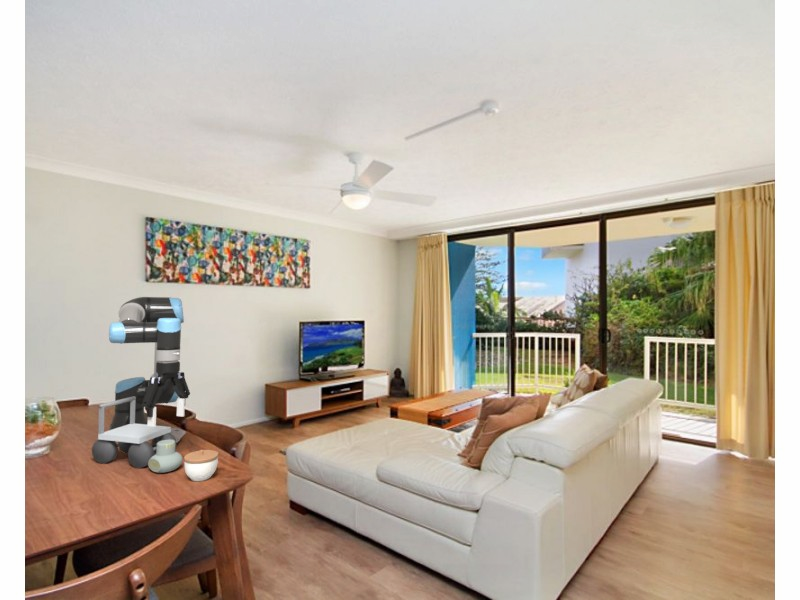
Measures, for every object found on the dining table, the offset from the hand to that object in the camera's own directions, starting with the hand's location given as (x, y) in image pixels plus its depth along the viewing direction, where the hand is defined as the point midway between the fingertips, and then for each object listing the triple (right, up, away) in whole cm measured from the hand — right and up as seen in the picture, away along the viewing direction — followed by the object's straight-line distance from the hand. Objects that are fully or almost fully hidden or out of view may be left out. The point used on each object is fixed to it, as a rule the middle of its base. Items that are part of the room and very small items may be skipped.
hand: (166, 421), depth 154 cm
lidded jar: (+15, -18, -7) cm, 24 cm away
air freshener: (0, -18, 0) cm, 18 cm away
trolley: (-17, -17, +9) cm, 26 cm away
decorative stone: (-16, -18, +30) cm, 39 cm away
